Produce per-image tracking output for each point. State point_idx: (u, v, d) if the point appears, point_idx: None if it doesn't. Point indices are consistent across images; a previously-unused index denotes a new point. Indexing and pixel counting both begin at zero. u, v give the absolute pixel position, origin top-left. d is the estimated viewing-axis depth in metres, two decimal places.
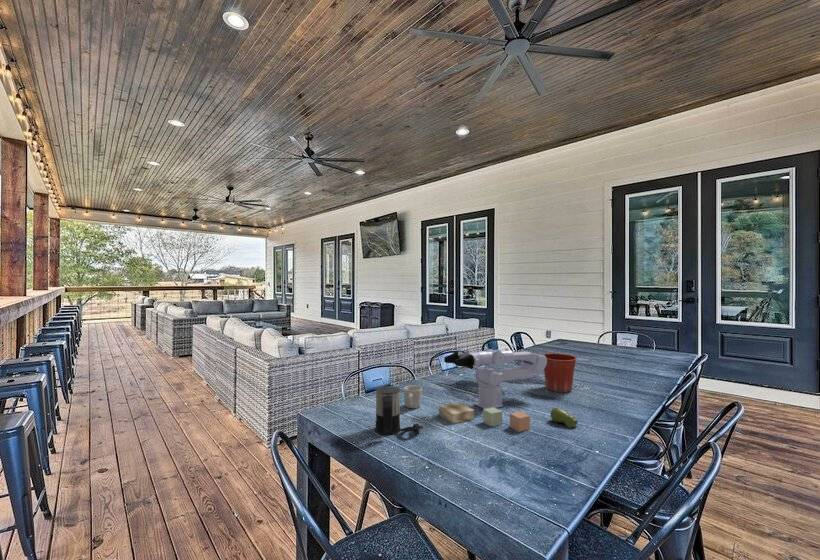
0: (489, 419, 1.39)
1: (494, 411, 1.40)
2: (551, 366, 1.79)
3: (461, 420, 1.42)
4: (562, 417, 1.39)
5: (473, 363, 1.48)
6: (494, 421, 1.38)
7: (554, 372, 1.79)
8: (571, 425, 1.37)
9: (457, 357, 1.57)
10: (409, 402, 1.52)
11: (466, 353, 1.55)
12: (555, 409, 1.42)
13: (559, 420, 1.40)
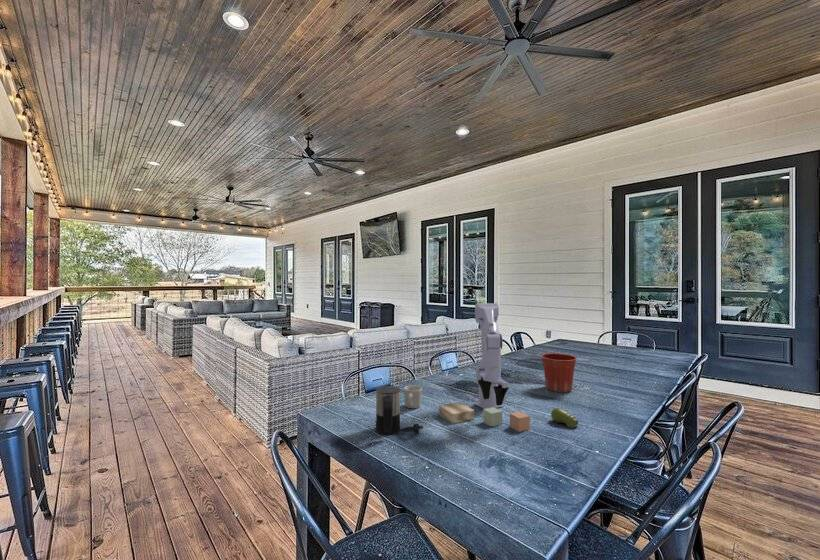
0: (489, 419, 1.39)
1: (494, 411, 1.40)
2: (551, 366, 1.79)
3: (461, 420, 1.42)
4: (563, 418, 1.39)
5: None
6: (494, 421, 1.38)
7: (554, 372, 1.79)
8: (572, 425, 1.37)
9: (485, 382, 1.44)
10: (409, 402, 1.52)
11: None
12: (556, 409, 1.42)
13: (560, 420, 1.39)
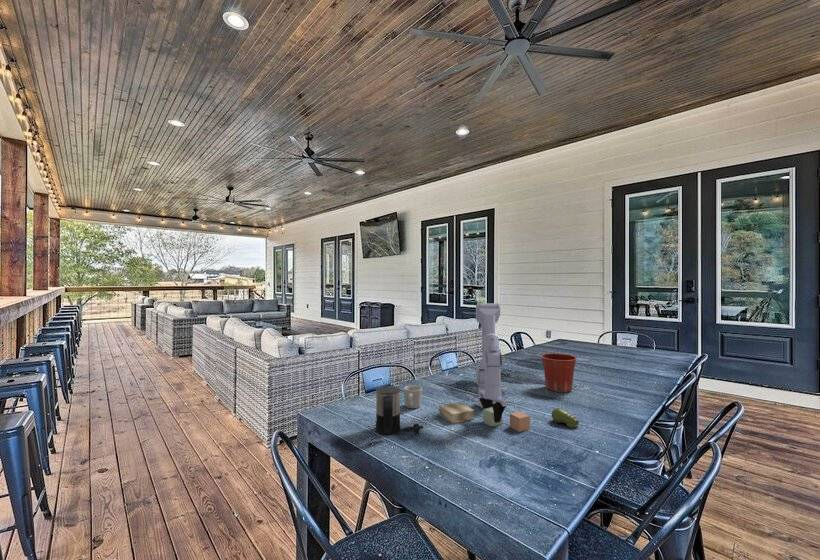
0: (489, 419, 1.39)
1: None
2: (551, 366, 1.79)
3: (461, 420, 1.42)
4: (563, 418, 1.38)
5: None
6: (494, 421, 1.38)
7: (554, 372, 1.79)
8: (572, 425, 1.36)
9: (487, 400, 1.43)
10: (409, 402, 1.52)
11: None
12: (556, 409, 1.42)
13: (560, 420, 1.39)
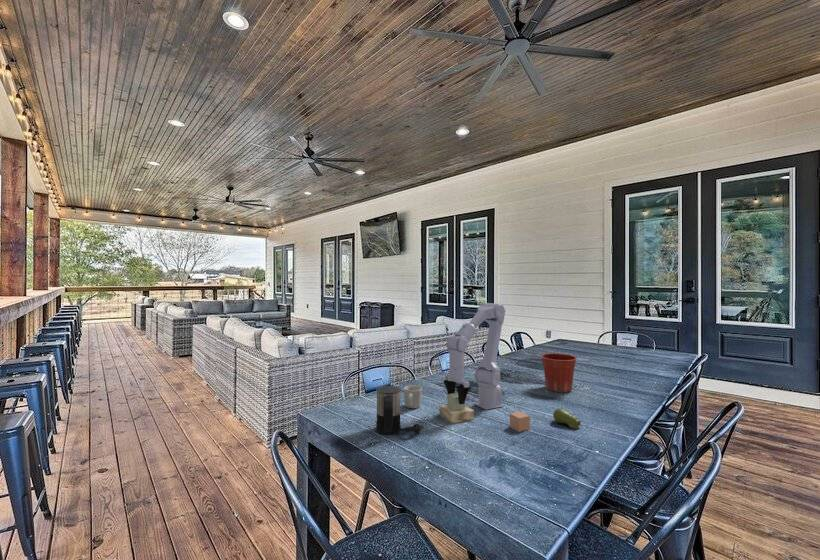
0: (452, 403, 1.45)
1: (457, 396, 1.46)
2: (551, 366, 1.79)
3: (460, 420, 1.42)
4: (565, 418, 1.38)
5: (466, 387, 1.41)
6: (457, 405, 1.44)
7: (554, 372, 1.79)
8: (574, 426, 1.36)
9: (450, 382, 1.50)
10: (409, 402, 1.52)
11: None
12: (558, 410, 1.41)
13: (562, 421, 1.39)
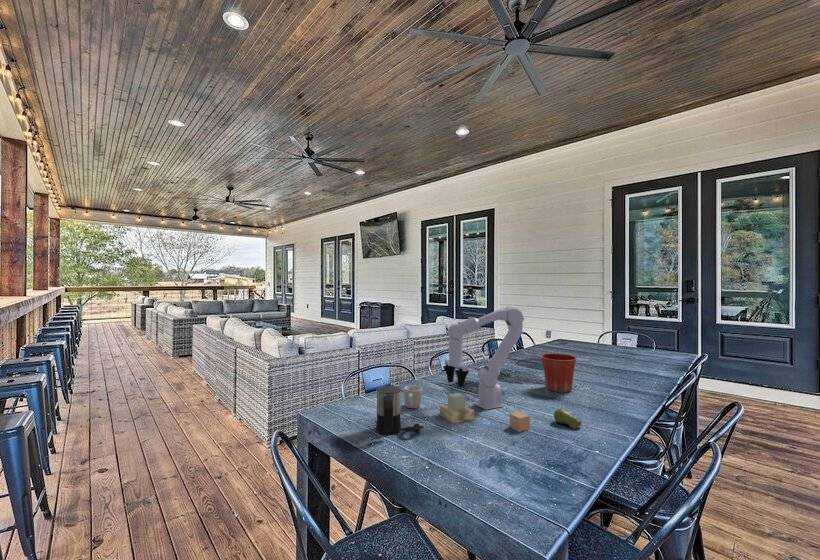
0: (453, 404, 1.44)
1: (458, 396, 1.45)
2: (551, 366, 1.79)
3: (461, 420, 1.42)
4: (566, 419, 1.38)
5: (465, 371, 1.54)
6: (457, 406, 1.44)
7: (554, 372, 1.79)
8: (575, 426, 1.36)
9: (449, 367, 1.62)
10: (409, 402, 1.52)
11: None
12: (559, 410, 1.41)
13: (563, 421, 1.39)
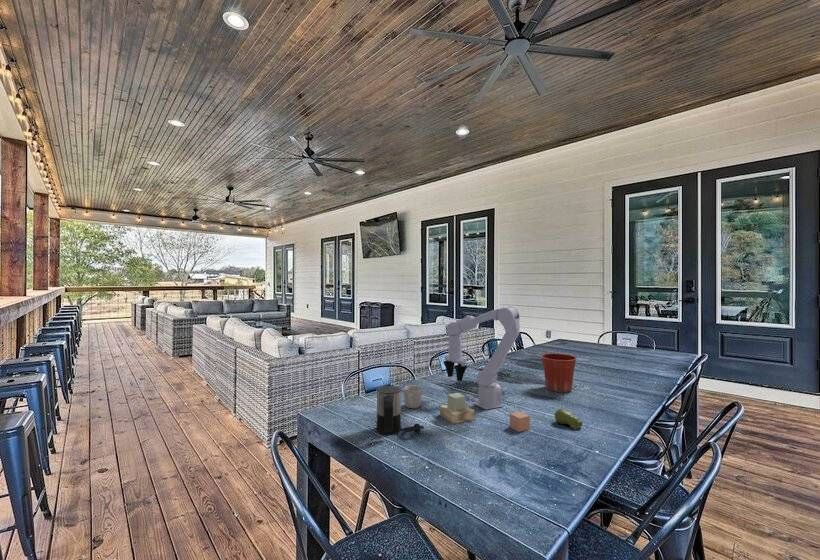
0: (453, 403, 1.44)
1: (458, 396, 1.45)
2: (551, 366, 1.79)
3: (461, 420, 1.42)
4: (567, 419, 1.37)
5: (463, 366, 1.62)
6: (457, 405, 1.44)
7: (554, 372, 1.79)
8: (576, 427, 1.35)
9: (449, 363, 1.71)
10: (409, 402, 1.52)
11: (449, 360, 1.67)
12: (560, 410, 1.41)
13: (564, 422, 1.38)
